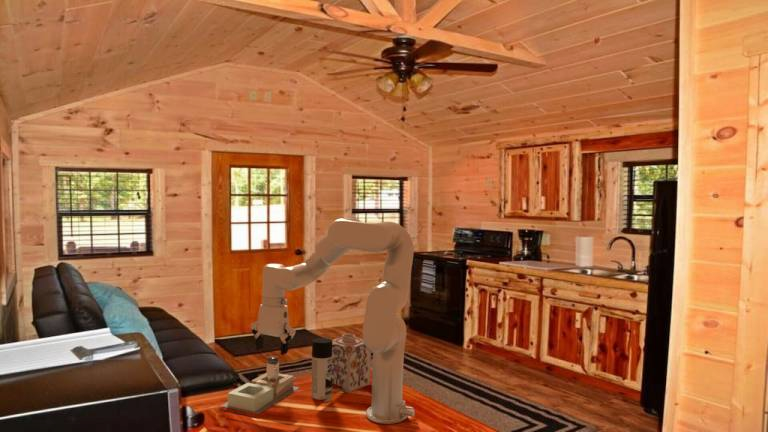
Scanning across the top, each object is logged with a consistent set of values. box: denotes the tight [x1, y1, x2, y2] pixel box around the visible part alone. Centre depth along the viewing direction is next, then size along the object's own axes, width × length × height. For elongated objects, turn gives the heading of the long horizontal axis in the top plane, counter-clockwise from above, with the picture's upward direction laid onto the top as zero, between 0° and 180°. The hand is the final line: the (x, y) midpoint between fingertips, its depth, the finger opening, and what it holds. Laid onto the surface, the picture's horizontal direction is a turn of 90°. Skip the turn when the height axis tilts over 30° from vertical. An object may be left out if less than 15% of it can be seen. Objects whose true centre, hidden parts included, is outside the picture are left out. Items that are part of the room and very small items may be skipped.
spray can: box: [311, 337, 333, 404], centre depth 178 cm, size 7×7×20 cm
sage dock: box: [227, 382, 273, 412], centre depth 170 cm, size 10×10×4 cm
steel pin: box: [266, 355, 280, 383], centre depth 181 cm, size 4×4×11 cm
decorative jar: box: [332, 333, 372, 394], centre depth 192 cm, size 12×12×18 cm
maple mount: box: [250, 372, 294, 398], centre depth 181 cm, size 10×10×4 cm
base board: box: [219, 385, 300, 420], centre depth 176 cm, size 14×24×2 cm, turn 158°
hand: (271, 351), depth 181 cm, fingers open, 9 cm apart
